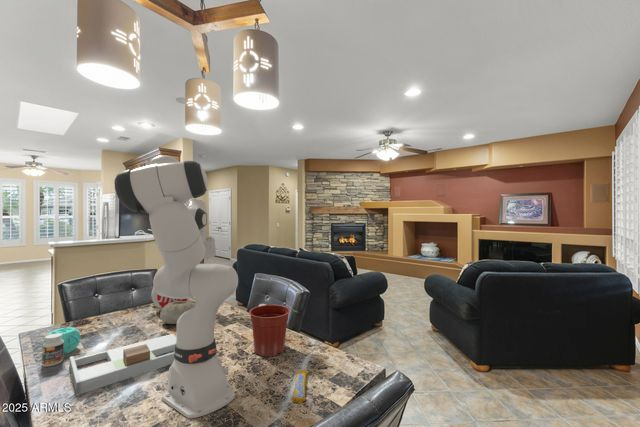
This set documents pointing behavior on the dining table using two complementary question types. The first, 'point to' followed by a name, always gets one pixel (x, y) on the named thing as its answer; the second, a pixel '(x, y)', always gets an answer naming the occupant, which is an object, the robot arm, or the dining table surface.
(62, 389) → the dining table surface
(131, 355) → the walnut block
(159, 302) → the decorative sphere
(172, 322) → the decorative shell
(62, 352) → the pill bottle
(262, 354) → the flower pot
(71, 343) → the decorative dice
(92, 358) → the board
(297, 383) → the candy bar
